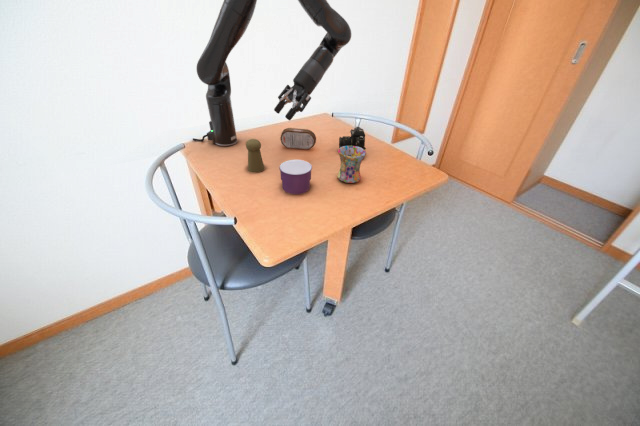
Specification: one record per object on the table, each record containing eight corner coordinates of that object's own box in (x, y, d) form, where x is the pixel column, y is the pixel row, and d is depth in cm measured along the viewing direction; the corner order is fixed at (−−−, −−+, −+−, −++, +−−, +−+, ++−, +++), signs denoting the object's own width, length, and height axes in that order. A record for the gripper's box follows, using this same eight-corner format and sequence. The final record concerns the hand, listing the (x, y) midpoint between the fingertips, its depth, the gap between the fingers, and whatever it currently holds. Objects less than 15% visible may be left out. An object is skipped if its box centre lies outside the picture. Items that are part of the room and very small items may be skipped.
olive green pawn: (267, 166, 102) (264, 138, 96) (259, 173, 98) (256, 145, 91) (253, 163, 104) (249, 136, 97) (244, 170, 99) (240, 142, 92)
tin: (316, 148, 117) (316, 129, 112) (315, 151, 115) (315, 131, 110) (281, 145, 118) (280, 126, 113) (280, 148, 116) (279, 129, 111)
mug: (365, 183, 95) (370, 155, 88) (341, 186, 92) (343, 158, 86) (353, 168, 104) (356, 141, 98) (330, 170, 102) (332, 143, 95)
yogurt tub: (277, 193, 88) (275, 173, 83) (284, 177, 96) (283, 158, 91) (309, 196, 87) (309, 176, 82) (313, 180, 95) (314, 160, 91)
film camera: (331, 145, 121) (332, 122, 115) (356, 142, 124) (359, 120, 118) (346, 162, 107) (348, 138, 101) (374, 159, 111) (378, 135, 105)
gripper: (292, 65, 95) (265, 103, 97) (314, 72, 86) (284, 114, 88) (305, 80, 101) (279, 116, 103) (327, 88, 92) (298, 127, 93)
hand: (281, 115), depth 95 cm, fingers open, 8 cm apart
